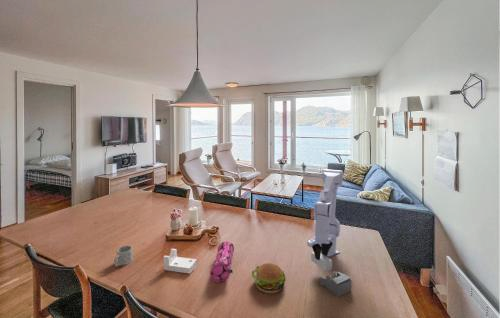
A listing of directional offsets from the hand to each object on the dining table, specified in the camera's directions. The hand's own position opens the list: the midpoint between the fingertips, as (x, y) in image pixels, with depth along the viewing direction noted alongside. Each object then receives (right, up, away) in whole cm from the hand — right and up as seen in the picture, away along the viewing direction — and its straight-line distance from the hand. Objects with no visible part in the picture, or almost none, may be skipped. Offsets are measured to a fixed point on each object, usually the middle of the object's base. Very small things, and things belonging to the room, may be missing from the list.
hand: (320, 257), depth 103 cm
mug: (-94, -8, +11) cm, 95 cm away
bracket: (-64, -8, +6) cm, 65 cm away
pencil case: (-44, -8, +6) cm, 45 cm away
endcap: (+4, -9, -7) cm, 13 cm away
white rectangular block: (0, -3, 0) cm, 3 cm away
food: (-24, -10, -5) cm, 26 cm away
